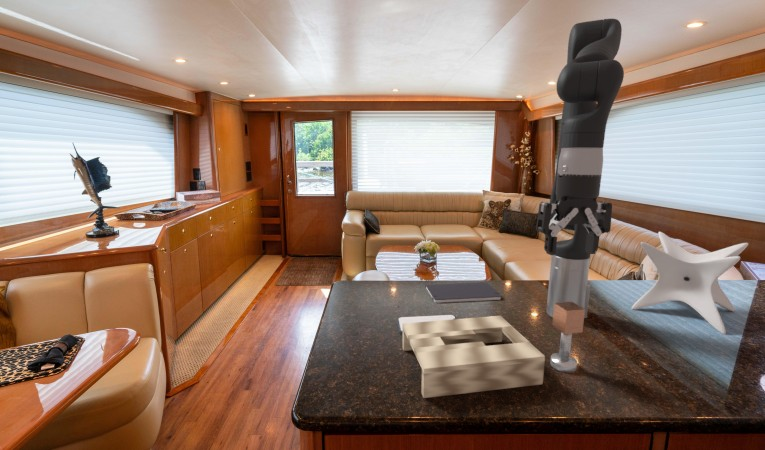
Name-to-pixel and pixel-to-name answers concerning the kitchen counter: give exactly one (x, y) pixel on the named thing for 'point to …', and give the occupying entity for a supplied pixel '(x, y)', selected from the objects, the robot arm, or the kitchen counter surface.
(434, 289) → the notebook
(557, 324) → the footed peg
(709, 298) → the white spiked concave cube
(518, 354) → the keyhole plate
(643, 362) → the kitchen counter surface
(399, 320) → the smartphone
